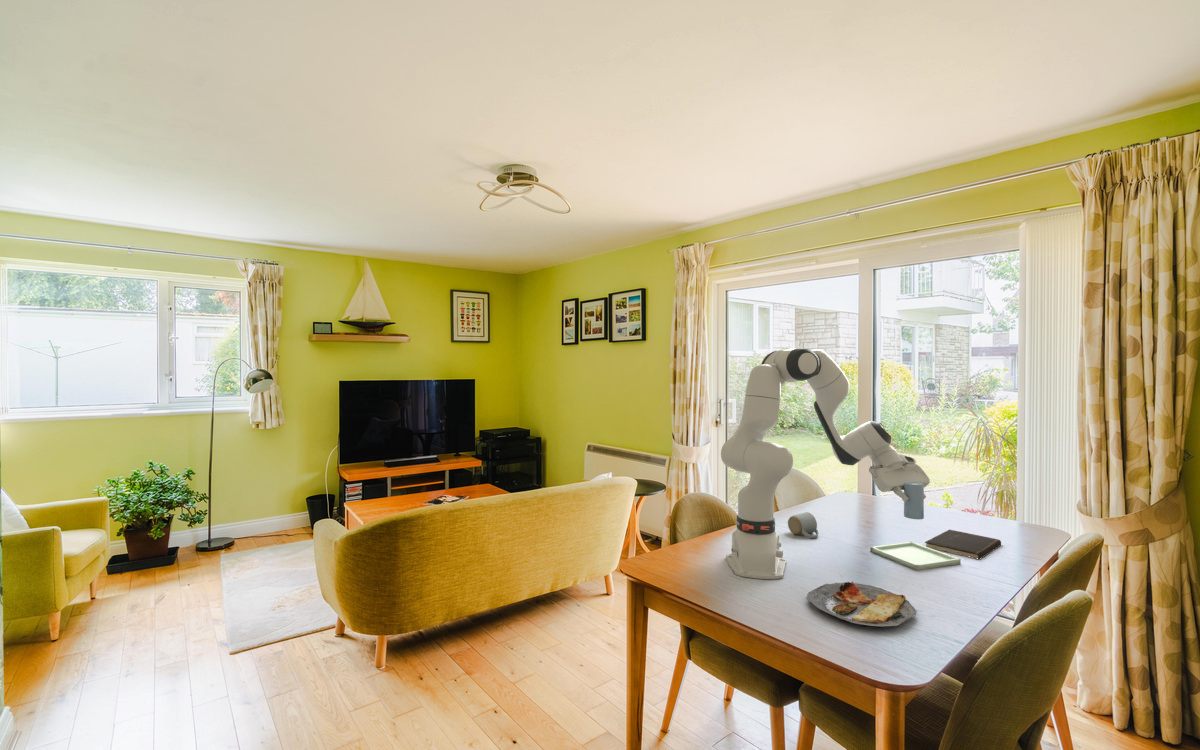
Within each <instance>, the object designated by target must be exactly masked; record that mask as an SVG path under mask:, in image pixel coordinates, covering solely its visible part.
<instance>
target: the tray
mask: <svg viewBox="0 0 1200 750" xmlns="http://www.w3.org/2000/svg"><path fill="white" fill-rule="evenodd" d="M869 550H870V552H871V553H874V554H875V555H878V556H881V557H884V558H886V559H888V560H890V561H893V562H896V563H898V564H901V565H903V566H906V567H907V568H910V569H913V570H915V571H921V570H928V569H935V568H942V567H947V566H948V565H949V566H955V565H954V564H956V565H961V564H960V563H961V561H962V560H961V558H958V557H956V556H953V555H950V554H948V553H944V552H943V551H940V550H937V549H932V548H928V547H926V545H922V544H920V543H916V542H914V541H907V542H899V543H891V544H883V545H876V546H875V545H874V546H870V549H869Z"/></svg>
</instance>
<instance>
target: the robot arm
mask: <svg viewBox="0 0 1200 750" xmlns="http://www.w3.org/2000/svg"><path fill="white" fill-rule="evenodd" d="M749 373H750V374H749V376H748V380H747V384H746V388H745V394H744V401H743V409H742V416H741V420H740V422H739V424H738V427H737V429H736V431H735V432H734V433H733V435H732V436H731V437H730V438H729V439H727V440H726V441H725V442H724V444H722V447H721V449H720V458H721V461H722V462H723V465H725V466H726V467H728V468H730V469H732V470H733V471H734V470H735V471H737V472H741V473H745V474H749V481H748V484H747V485H745V486H743V487H741V488H740V490H739V491H738V494H737V515H736V519H735V522H736V529H734V531H732V533H731V553H727V554H726V555H725V559H726V562H727V564H728V565H729V566H730V568H731V570H732V572H733V573H734V574H735V575H737V576H739V577H745V578H749V579H750V578H752V579H761V580H777V579H778V580H779V579H783V578H784V576H785V571H786V566H787V559H786V558H784V555H783V554H784V553H783V552H784V551H783V550H782V549H780V548H782V542H780V535H779V534H778V533H777V532H776V520H775V517H774V507H775V506H774V505H775V493H776V490H777V487H778V485H779V484H780V482H781V481H782V480H783V479H784V478H785V477H787V476H788V475H789V474H790V473H791V471H792V469H793V467H794V457H793V454H792V452H791V450H790V448H787V447H785V446H783V445H781V444H778V443H776V442H772V441H771V442H769V441H764V438H765V435H766V434H767V432H768V431H769V430H771V429H773V428H775V427H776V426H777V424H778V421H779V412H780V404H781V393H782V392H781V391H782V388H783V385H784V384H785V383H795V382H800V381H801V382H803V381H806V382H807V383H808V384H809V385H810V387H811V389H812V390H813V392H814V395H815V400H814V402H813V408H814V411H815V413H816V415H817V418H818V420H819V422H820V424H821V426H822V429H823V431H824V432H825V435H826V436H827V439H828V440H829V442H830V445H831V449H832V452H833V454H834V456H835V459H837V460H838V462H840V463H841V464H842V465H846V466H855V465H856V464H857V463H859V462H860V461H861V460H863V459H865V458H867V457H869V458H870V459H871V460H870V461H871V463H872V464H873V465H871V466H870V467H869V468H868V470H869V471H868V472H869V474H870V475H871V479H872V481H873V482H874V484H875V486H876V488H877V489H878V490H879V491H881V492H882V493H886V492H893V493H894V494H895V495H896V496H898V497H899V498H901V500H902V501H903V502H904V501H909V500H910V497H909V496H908V494H905V493H904V483H909V482H917V483H922V484H924V488H925V487H927V486H928V485H930V482H931V481H930V478H929V476H928V475H927V474H926V472H925V471H924V470H923V468H922V467H921V466H920V465H918V464H916V463H917V460H916V459H915V457H912V456H908V455H904V454H903V453H899V452H898V451H897V450H896V449H895V448H894V447H893V446H892V444H891V443H892V435H890V433H888V432H887V430H886V429H885V427H884V425H883V424H882V423H881V422H878V421H875V420H870V421H867V422H864V423H862V424H860V425H859V426H857V427H856V428H855V429H853V430H851V431H849V432H848V433H846V434H845V435H840V433H839V430H838V429H837V426H836V424H835V422H834V414H835V413H836V411H837V410H838V408H839V407H840V406H841V405H842V403H843V402H844V401H845V399H846V398H847V396H848V394H849V391H850V381H849V379H848V377H847V376H846V374H845V372H844V371H843V370H842V369H841V367H840V366H839V365H838V364H837V363H836V361H835V360H834V359H833V358H832V357H831V356H830V355H829V354H828V353H826V351H825V350H823V349H819V348H818V349H817V348H816V349H815V348H814V349H809V348H804V347H797V348H784V349H783V348H782V349H779V350H775V351H771V352H769V353H768V354H767V355H766V356H765V357H764V358H763V360H762V361H761V364H758V365H755V366H754V367H753V368H752V369H751V371H750V372H749ZM926 498H927V496H926V494H925V493H924V500H925V499H926Z"/></svg>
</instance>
